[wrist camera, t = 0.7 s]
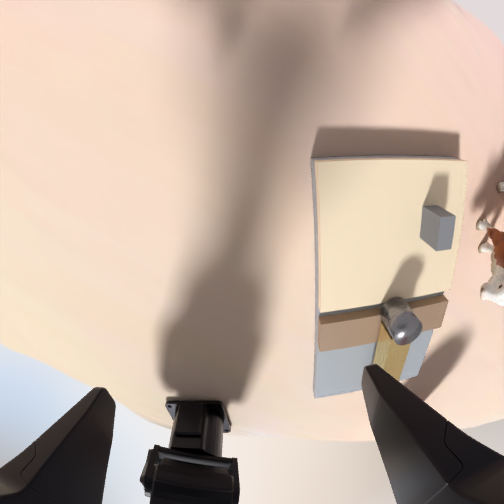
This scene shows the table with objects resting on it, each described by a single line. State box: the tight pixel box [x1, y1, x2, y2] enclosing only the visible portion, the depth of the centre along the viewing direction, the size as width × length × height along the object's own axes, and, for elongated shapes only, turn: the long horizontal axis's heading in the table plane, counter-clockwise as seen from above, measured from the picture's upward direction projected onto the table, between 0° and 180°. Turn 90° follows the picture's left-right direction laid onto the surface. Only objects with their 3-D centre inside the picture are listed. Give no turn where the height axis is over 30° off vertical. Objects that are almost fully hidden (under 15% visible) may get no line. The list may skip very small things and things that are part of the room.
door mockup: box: [311, 155, 468, 398], centre depth 21 cm, size 23×12×4 cm, turn 6°
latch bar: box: [373, 297, 422, 381], centre depth 22 cm, size 12×2×3 cm, turn 6°
